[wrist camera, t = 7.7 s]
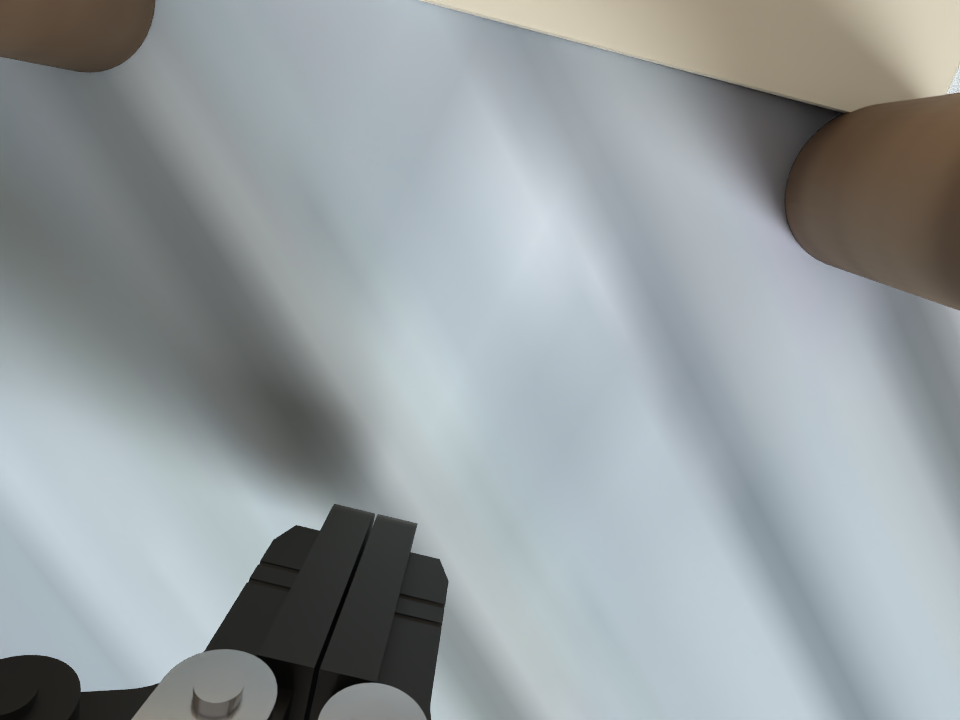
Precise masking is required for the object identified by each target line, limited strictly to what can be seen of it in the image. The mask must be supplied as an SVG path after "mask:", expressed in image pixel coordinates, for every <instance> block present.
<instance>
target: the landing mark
mask: <svg viewBox="0 0 960 720" xmlns="http://www.w3.org/2000/svg"><path fill="white" fill-rule="evenodd" d="M419 1H423V2H427V3H430V4H434V5H438V6H442V7H446V8H449V9H453V10H457V11H461V12H464V13H468V14H472V15H476V16H479V17H483V18H487V19H491V20H495V21H498V22H502V23H506V24H510V25H513V26H517V27H521V28H525V29H529V30H532V31H536V32H540V33H544V34H547V35H551V36H555V37H559V38H563V39H566V40H570V41H574V42H578V43H581V44H585V45H589V46H593V47H596V48H600V49H604V50H608V51H612V52H615V53H619V54H623V55H627V56H630V57H634V58H638V59H642V60H646V61H649V62H653V63H657V64H661V65H664V66H668V67H672V68H676V69H680V70H683V71H687V72H691V73H695V74H698V75H702V76H706V77H710V78H714V79H717V80H721V81H725V82H729V83H732V84H736V85H740V86H744V87H747V88H751V89H755V90H759V91H763V92H766V93H770V94H774V95H778V96H781V97H785V98H789V99H793V100H797V101H800V102H804V103H808V104H812V105H815V106H819V107H823V108H827V109H831V110H834V111H838V112H842V113H850V112H853V111H855V110H858V109H860V108H863V107H866V106H871V105H875V104H882V103H889V102H896V101H903V100H910V99H918V98H925V97H932V96H939V95H946V94H947V92H948V89H949V87H950V85H951V83H952V80H953V78H954V76H955V74H956V71H957V69H958V67H959V65H960V0H419Z"/></svg>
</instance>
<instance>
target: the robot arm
mask: <svg viewBox="0 0 960 720" xmlns="http://www.w3.org/2000/svg"><path fill="white" fill-rule="evenodd" d="M374 517H375V514H374V513H370V512H366V511H362V510H358V509H354V508H350V507H345V506H341V505H337V504H334V505H333V507H332V509H331V511H330V513H329V515H328V517H327V518H326V520H325V522H324V524H323V526H322V528H321V530H320V531H318V530H314V529H310V528H306V527H302V526H297V525H296V526H294V527H293V528H291V529H290V530H288V531H286V532H285V533H283V534H282V535H280V536H279V537H277V538H276V539H274V540H273V541H272V543H271V545H270V546H269V548H268V549H267V551H266V553H265V554H264V556H263V558H262V559H261V561H260V564H259V565H258V566H257V567H256V569H255V570H254V572H253V574H252V575H251V577H250V579H249V582H248V583H246V585H245V587H244V588H243V590H242V591H241V593H240V595H239V596H238V598H237V600H236V601H235V603H234V604H233V606H232V608H231V609H230V611H229V612H228V614H227V616H226V617H225V619H224V621H223V622H222V624H221V625H220V627H219V629H218V630H217V632H216V633H215V635H214V637H213V638H212V640H211V641H210V643H209V645H208V646H207V648H206V650H205V651H204V652H203V653H199V654H196V655H194V656H192V657H189V658H187V659H186V660H184V661H182V662H181V663H179V664H178V665H176V666H175V667H174V668H173V669H171V670H170V671H169V673H168V674H167V675H166V676H165V677H164V678H163V679H162V681H161V682H160V683H158V684H155V685H152V686H147V687H143V688H136V689H127V690H109V691H91V692H81V688H80V681H79V678H78V676H77V674H76V673H75V671H74V670H73V669H72V668H71V667H70V666H69V665H67V664H66V663H64V662H62V661H60V660H58V659H55V658H51V657H48V656H40V655H22V656H14V657H9V658H4V659H0V720H431V714H430V702H431V695H432V688H433V681H434V675H435V668H436V661H437V655H438V648H439V641H440V635H441V626H442V621H443V614H444V606H445V601H446V594H447V588H448V579H447V577H446V574H445V572H444V569H443V567H442V564H441V562H440V559H436V558H432V557H428V556H424V555H420V554H415V553H411V548H412V544H413V539H414V535H415V531H416V527H417V523H413V522H409V521H404V520H400V519H396V518H392V517H388V516H384V515H379V514H378V515H377V517H376V520H375V522H374ZM373 523H374V525H373Z"/></svg>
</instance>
